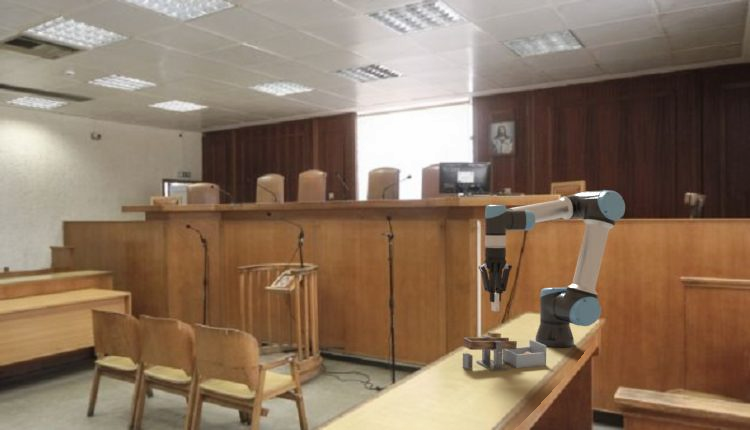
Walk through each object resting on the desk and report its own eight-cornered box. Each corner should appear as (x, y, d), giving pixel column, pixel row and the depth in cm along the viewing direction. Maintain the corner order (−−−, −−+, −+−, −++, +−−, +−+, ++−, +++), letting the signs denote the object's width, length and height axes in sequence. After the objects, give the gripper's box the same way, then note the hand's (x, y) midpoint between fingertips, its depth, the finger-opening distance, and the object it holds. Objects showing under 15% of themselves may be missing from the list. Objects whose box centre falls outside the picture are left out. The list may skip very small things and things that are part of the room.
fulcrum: (491, 361, 194) (491, 334, 194) (507, 369, 183) (508, 342, 183) (458, 363, 190) (458, 337, 190) (473, 372, 179) (473, 344, 179)
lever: (495, 340, 200) (496, 331, 200) (516, 349, 187) (516, 339, 187) (452, 340, 195) (452, 331, 195) (470, 349, 182) (471, 340, 182)
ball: (526, 361, 194) (530, 353, 195) (532, 364, 191) (536, 355, 191) (519, 357, 193) (523, 348, 194) (525, 359, 190) (529, 351, 190)
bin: (530, 358, 198) (531, 339, 198) (546, 365, 189) (546, 345, 189) (502, 361, 194) (502, 341, 194) (516, 368, 186) (516, 347, 185)
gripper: (505, 245, 203) (505, 307, 204) (474, 246, 199) (474, 309, 200) (516, 247, 196) (516, 311, 197) (484, 247, 192) (484, 313, 192)
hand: (495, 310), depth 198 cm, fingers closed
